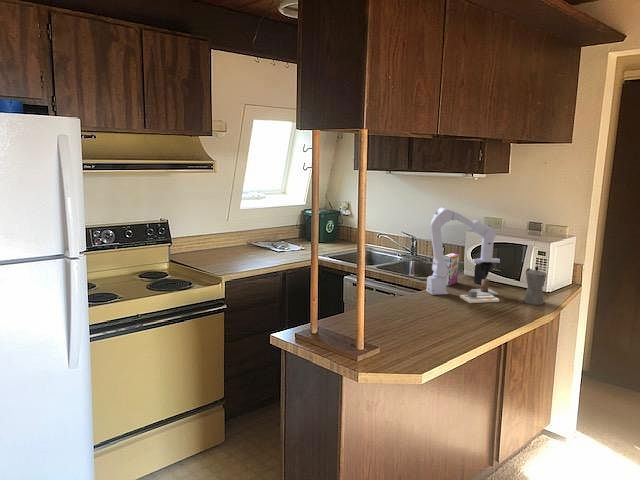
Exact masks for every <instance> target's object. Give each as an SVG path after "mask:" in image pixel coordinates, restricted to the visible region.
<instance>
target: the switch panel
mask: <svg viewBox="0 0 640 480" xmlns="http://www.w3.org/2000/svg"><path fill="white" fill-rule="evenodd" d="M459 298H460V299H463V301H465V302H467V303H469V304H477V303H479V304H480V303H482V304H483V303H497V302H498V303H499V302H500V299H499V298H498V297H496V296H495V295H490V294H477V297H472V298H470V297H468V294H460V295H459Z"/></svg>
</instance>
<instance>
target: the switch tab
mask: <svg viewBox="0 0 640 480" xmlns="http://www.w3.org/2000/svg"><path fill="white" fill-rule="evenodd" d="M467 295H468V297H470V298H472V297H477V292H476V291H474V290H471V289H470V290H468V293H467Z"/></svg>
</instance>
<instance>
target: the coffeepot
mask: <svg viewBox="0 0 640 480" xmlns="http://www.w3.org/2000/svg"><path fill="white" fill-rule="evenodd" d="M534 267H535V269H532V268H531V267H527V269H526V270H525V276H526V277H525V278H526V283H527V288H526V292H525V296H524V298H523V299H524V300H523V301H524V303H525V304H529V305H534V306H539V305H543V304H544V291H543V287H545V281H546V279H547V273H546V272H545V271H541V270H539V266H534Z"/></svg>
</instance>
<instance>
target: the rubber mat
mask: <svg viewBox="0 0 640 480" xmlns="http://www.w3.org/2000/svg"><path fill="white" fill-rule="evenodd" d="M471 290H474V291H476V292H477V294H490V295H492V296H499V292H497V291H494V290H492V289H491V288H488V292H482V291H481V288H471V289H470V291H471Z"/></svg>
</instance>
